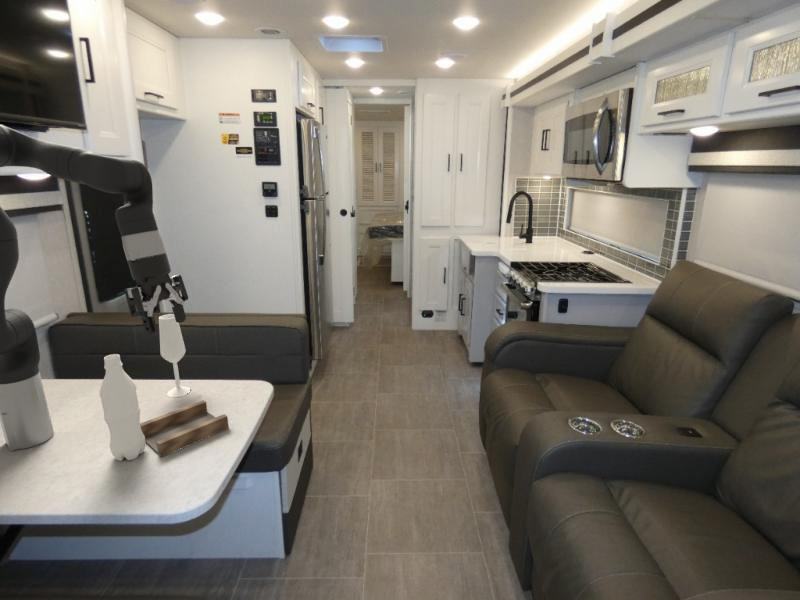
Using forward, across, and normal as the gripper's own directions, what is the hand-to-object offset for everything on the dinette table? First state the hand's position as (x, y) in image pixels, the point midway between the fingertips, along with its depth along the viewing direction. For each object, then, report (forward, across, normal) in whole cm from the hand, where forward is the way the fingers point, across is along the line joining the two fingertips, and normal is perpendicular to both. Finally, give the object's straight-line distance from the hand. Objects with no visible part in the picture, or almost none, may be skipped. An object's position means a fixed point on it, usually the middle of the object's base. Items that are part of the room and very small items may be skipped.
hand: (167, 327), depth 102 cm
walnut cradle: (+30, -8, -12) cm, 33 cm away
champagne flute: (+26, -27, -30) cm, 48 cm away
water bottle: (+29, +3, -18) cm, 35 cm away
